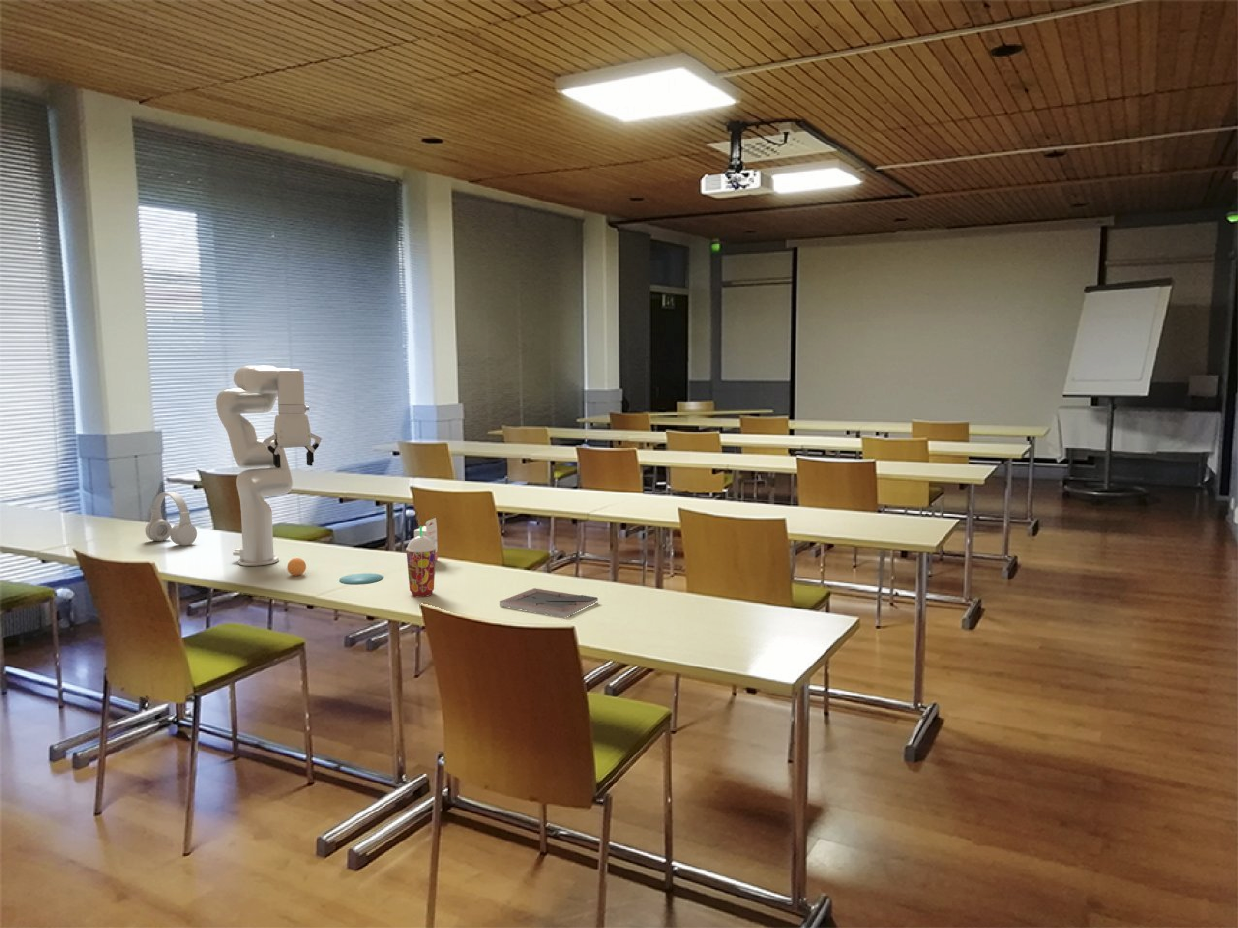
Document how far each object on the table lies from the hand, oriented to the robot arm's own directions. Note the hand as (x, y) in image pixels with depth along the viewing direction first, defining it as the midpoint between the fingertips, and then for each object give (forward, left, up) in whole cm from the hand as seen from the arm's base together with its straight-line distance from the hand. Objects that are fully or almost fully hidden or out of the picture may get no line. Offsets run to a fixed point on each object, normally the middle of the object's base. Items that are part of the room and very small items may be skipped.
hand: (293, 466), depth 258 cm
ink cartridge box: (+29, +30, -36) cm, 55 cm away
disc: (+19, +4, -35) cm, 40 cm away
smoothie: (+45, -9, -36) cm, 58 cm away
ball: (-3, +4, -33) cm, 33 cm away
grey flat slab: (+84, -12, -36) cm, 92 cm away
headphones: (-77, +40, -36) cm, 94 cm away
